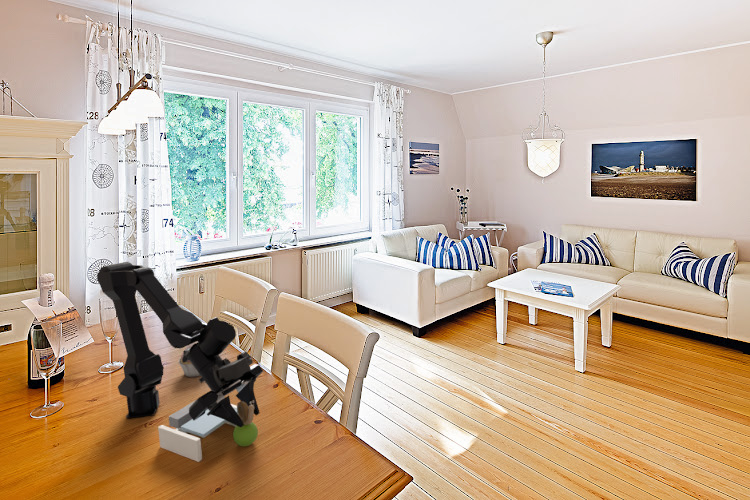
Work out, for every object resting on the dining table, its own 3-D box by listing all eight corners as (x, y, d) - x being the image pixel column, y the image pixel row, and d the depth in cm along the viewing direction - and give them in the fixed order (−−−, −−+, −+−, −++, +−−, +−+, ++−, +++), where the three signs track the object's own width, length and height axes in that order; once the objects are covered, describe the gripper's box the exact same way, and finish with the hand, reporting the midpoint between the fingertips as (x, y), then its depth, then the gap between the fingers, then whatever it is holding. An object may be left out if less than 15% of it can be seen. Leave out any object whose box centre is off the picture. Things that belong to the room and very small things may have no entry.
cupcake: (214, 365, 140) (212, 335, 138) (207, 378, 131) (204, 347, 129) (184, 366, 139) (181, 337, 137) (175, 380, 130) (171, 349, 128)
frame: (198, 461, 93) (196, 441, 92) (160, 447, 98) (158, 427, 97) (245, 426, 106) (244, 407, 105) (209, 415, 111) (208, 397, 110)
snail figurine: (245, 456, 95) (241, 406, 92) (229, 445, 99) (225, 396, 97) (265, 444, 99) (263, 396, 97) (249, 434, 103) (246, 387, 101)
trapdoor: (204, 441, 94) (203, 431, 94) (166, 427, 99) (165, 418, 99) (238, 416, 103) (238, 407, 103) (202, 405, 109) (202, 396, 108)
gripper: (194, 362, 88) (239, 425, 85) (255, 332, 104) (294, 383, 102) (170, 390, 92) (212, 450, 90) (232, 357, 109) (269, 406, 107)
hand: (250, 420), depth 97 cm, fingers open, 5 cm apart
